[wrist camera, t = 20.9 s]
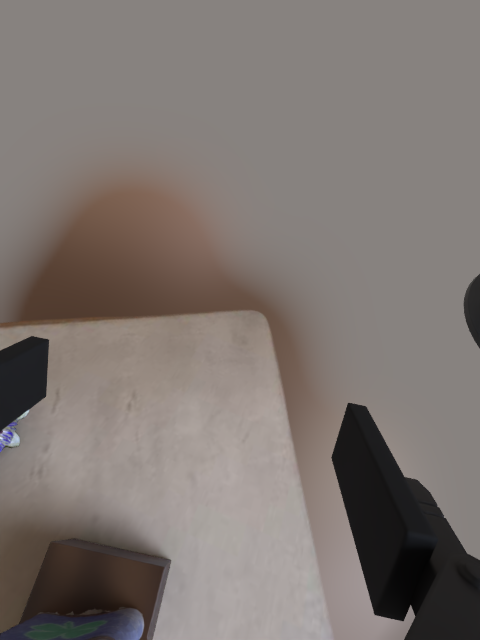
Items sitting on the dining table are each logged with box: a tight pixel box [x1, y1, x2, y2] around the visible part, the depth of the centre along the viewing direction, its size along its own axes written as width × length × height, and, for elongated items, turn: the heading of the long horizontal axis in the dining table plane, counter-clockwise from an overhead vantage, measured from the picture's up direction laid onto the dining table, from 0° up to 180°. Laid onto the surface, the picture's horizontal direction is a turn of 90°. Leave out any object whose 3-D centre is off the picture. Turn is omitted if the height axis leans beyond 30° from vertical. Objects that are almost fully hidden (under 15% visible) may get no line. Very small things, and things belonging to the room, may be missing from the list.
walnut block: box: [19, 539, 171, 640], centre depth 30 cm, size 10×10×6 cm
